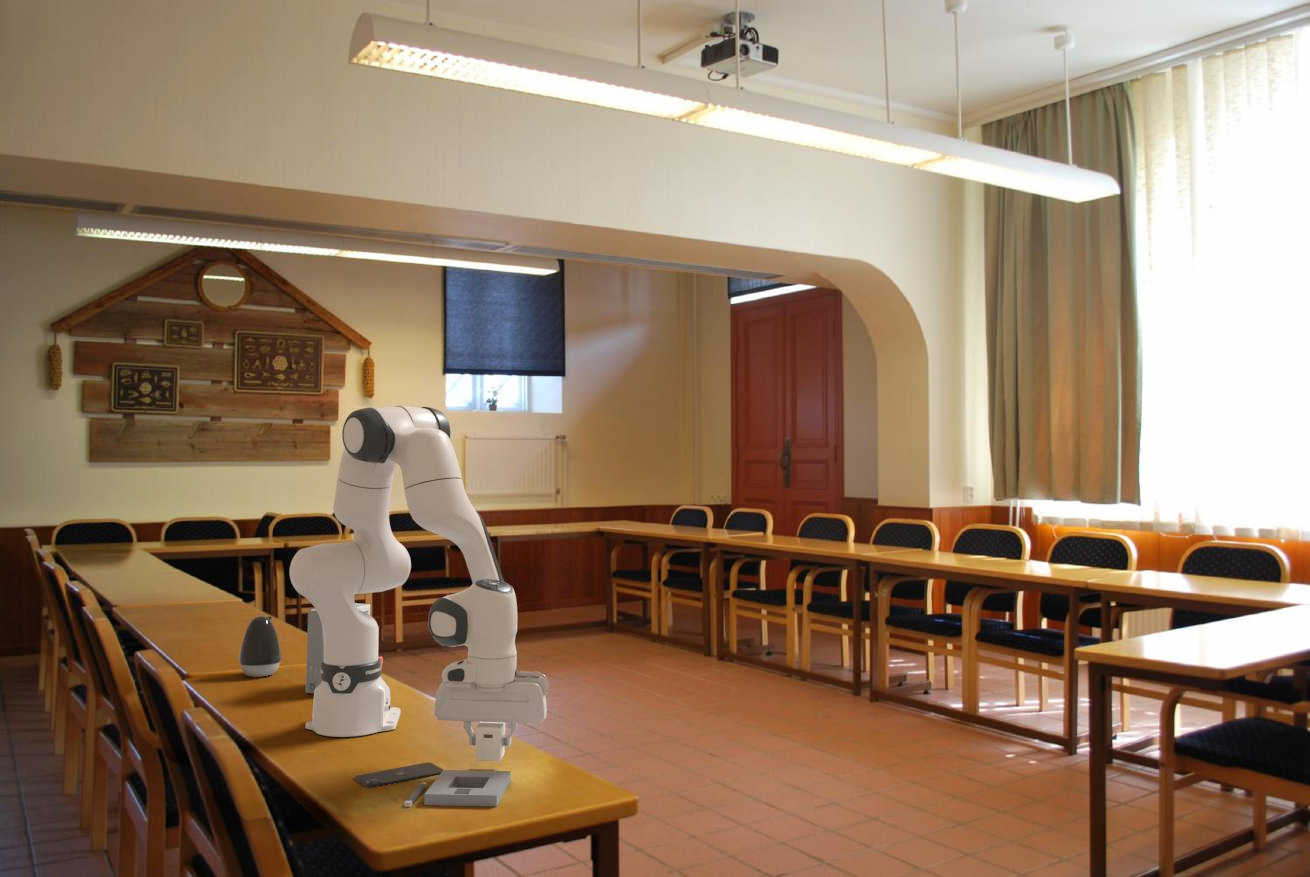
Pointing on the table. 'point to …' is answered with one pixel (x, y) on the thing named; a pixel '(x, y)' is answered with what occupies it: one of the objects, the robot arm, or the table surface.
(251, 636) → the grey egg on base
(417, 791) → the bar
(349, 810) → the table surface
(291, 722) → the table surface
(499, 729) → the brick
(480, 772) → the plate
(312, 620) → the hard drive box
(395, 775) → the smartphone
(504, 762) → the table surface
